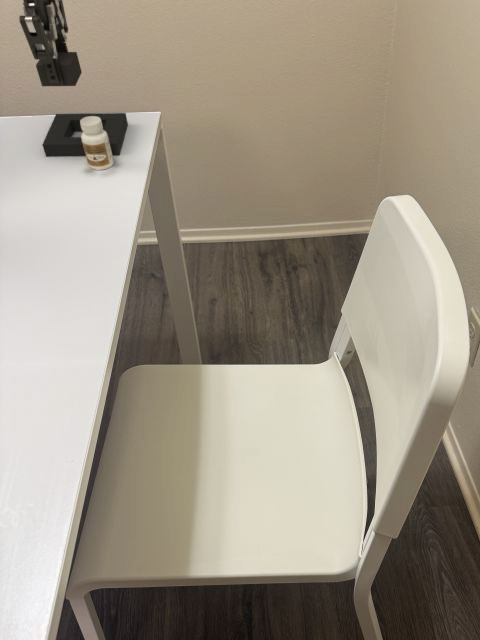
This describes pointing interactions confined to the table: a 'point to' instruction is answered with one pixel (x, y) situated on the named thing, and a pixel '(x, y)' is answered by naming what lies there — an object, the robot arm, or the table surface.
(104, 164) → the pill bottle
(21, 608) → the table surface
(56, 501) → the table surface
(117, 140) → the base pad
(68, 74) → the small pad
